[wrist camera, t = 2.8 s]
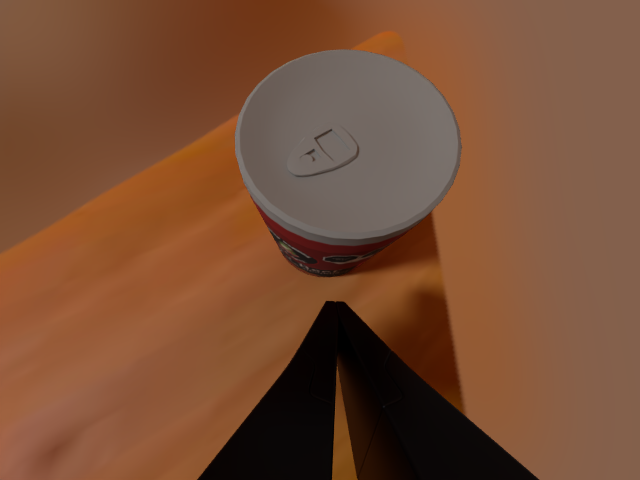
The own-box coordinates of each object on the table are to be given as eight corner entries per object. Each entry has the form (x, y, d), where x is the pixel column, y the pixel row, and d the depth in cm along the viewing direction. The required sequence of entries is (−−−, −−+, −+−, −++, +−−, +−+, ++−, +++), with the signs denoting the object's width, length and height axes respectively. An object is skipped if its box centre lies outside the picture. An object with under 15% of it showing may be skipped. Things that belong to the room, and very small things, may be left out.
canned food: (257, 238, 18) (180, 144, 7) (319, 170, 20) (332, 15, 9) (334, 301, 17) (379, 298, 6) (392, 222, 19) (502, 117, 8)
